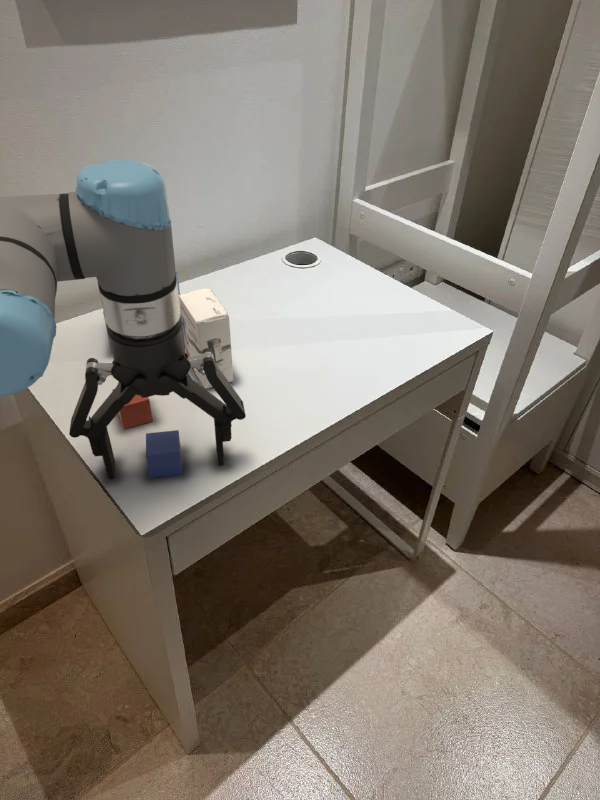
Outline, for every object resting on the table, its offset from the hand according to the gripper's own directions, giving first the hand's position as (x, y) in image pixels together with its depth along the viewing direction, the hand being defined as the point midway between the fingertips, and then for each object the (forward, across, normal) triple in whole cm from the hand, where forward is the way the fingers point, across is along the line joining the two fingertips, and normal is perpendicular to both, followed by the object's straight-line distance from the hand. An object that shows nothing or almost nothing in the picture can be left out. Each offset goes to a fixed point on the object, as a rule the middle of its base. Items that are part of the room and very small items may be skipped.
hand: (167, 463), depth 73 cm
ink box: (0, +7, +19) cm, 20 cm away
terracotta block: (0, -4, +10) cm, 11 cm away
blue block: (0, 0, 0) cm, 0 cm away
